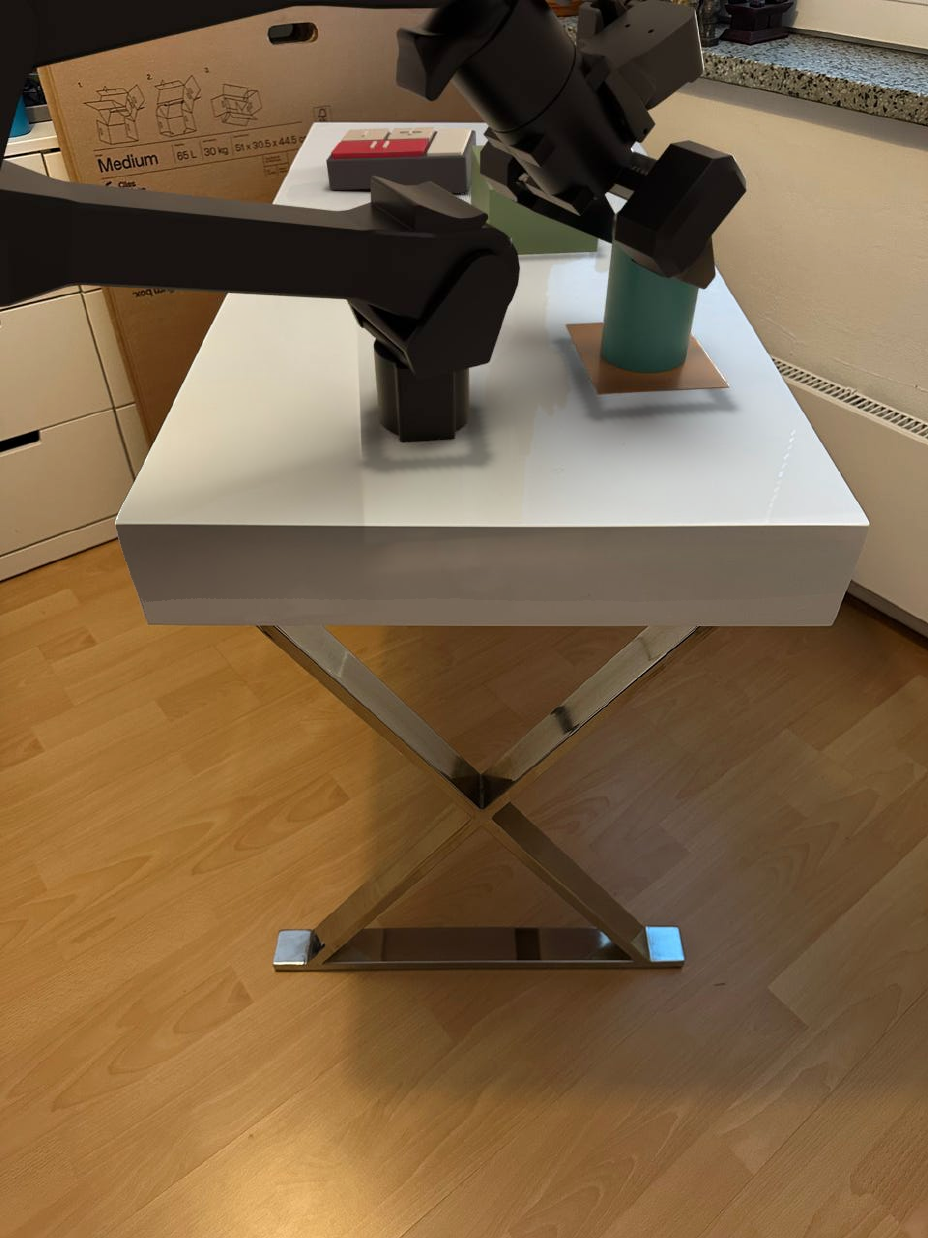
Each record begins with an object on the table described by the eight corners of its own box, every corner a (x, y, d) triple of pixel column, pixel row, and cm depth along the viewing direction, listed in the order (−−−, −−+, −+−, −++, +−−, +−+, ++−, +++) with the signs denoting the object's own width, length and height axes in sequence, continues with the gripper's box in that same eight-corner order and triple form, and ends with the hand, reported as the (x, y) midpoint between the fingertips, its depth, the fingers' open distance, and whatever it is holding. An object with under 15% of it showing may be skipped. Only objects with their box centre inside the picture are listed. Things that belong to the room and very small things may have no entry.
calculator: (345, 126, 99) (475, 121, 98) (350, 167, 102) (477, 163, 100) (323, 152, 91) (465, 148, 90) (330, 196, 94) (467, 193, 92)
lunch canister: (699, 371, 59) (725, 234, 53) (610, 375, 59) (626, 238, 53) (673, 332, 64) (695, 202, 58) (590, 336, 63) (603, 205, 57)
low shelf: (726, 407, 59) (730, 386, 58) (595, 414, 58) (597, 393, 57) (679, 336, 67) (682, 317, 66) (563, 342, 66) (565, 323, 65)
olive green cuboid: (596, 255, 79) (603, 185, 75) (488, 260, 79) (489, 189, 74) (567, 206, 90) (571, 142, 86) (470, 210, 89) (471, 145, 85)
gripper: (762, -43, 38) (860, 190, 49) (527, -74, 50) (650, 119, 61) (598, 180, 40) (728, 352, 52) (411, 99, 52) (550, 254, 64)
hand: (660, 258), depth 57 cm, fingers open, 9 cm apart
